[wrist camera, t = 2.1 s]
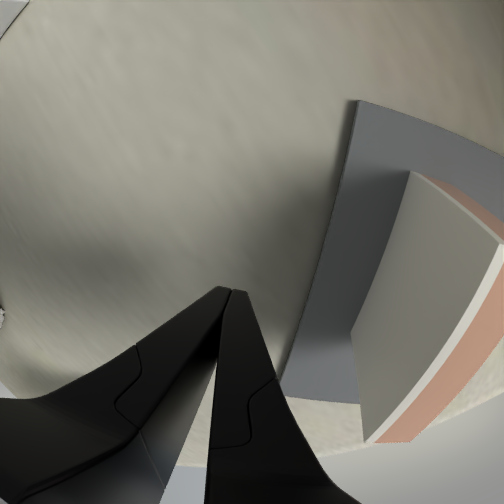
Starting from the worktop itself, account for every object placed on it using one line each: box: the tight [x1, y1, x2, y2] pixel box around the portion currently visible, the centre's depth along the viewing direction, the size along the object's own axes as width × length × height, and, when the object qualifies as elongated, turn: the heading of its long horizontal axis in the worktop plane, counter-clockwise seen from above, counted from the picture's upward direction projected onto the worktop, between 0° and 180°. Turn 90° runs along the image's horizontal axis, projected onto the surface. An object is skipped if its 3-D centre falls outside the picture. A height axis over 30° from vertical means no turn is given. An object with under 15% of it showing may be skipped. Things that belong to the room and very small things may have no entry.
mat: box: [279, 100, 504, 404], centre depth 13 cm, size 16×12×1 cm
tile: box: [350, 171, 504, 443], centre depth 9 cm, size 8×2×6 cm, turn 171°
